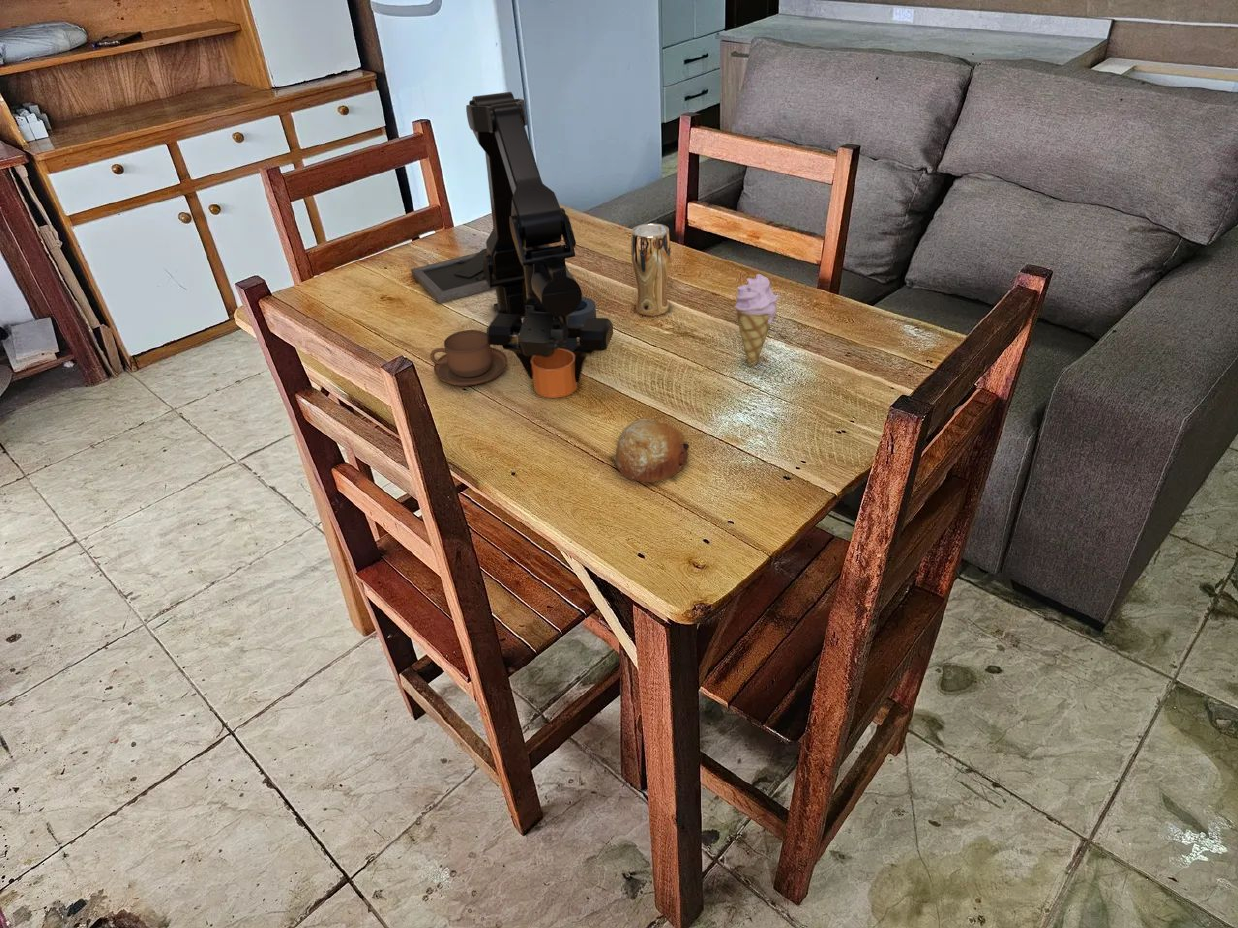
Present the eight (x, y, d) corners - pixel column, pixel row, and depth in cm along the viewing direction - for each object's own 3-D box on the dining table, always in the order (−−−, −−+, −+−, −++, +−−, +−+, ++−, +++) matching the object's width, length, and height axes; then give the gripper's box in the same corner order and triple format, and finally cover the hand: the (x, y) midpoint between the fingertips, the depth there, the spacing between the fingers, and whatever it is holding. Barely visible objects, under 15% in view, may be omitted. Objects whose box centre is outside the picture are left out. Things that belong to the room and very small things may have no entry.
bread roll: (625, 463, 121) (599, 424, 116) (689, 433, 119) (664, 391, 114) (632, 506, 113) (604, 465, 108) (700, 474, 111) (674, 431, 106)
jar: (550, 340, 145) (546, 300, 141) (590, 332, 147) (588, 293, 143) (561, 359, 140) (557, 318, 135) (603, 350, 141) (601, 310, 137)
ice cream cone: (777, 357, 137) (784, 271, 128) (770, 375, 132) (777, 288, 123) (738, 352, 139) (741, 267, 130) (729, 370, 134) (733, 284, 125)
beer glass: (668, 318, 150) (666, 238, 141) (630, 316, 152) (626, 236, 143) (673, 301, 156) (673, 223, 147) (637, 299, 157) (634, 222, 148)
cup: (529, 380, 134) (526, 353, 131) (570, 371, 136) (568, 344, 133) (540, 401, 129) (536, 373, 126) (583, 392, 131) (580, 364, 128)
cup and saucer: (449, 400, 131) (442, 365, 127) (426, 368, 139) (419, 335, 136) (519, 379, 135) (514, 345, 131) (493, 349, 144) (488, 317, 140)
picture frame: (505, 252, 179) (412, 276, 171) (504, 243, 178) (410, 267, 170) (537, 277, 168) (439, 303, 160) (536, 267, 167) (437, 294, 159)
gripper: (467, 309, 118) (483, 402, 127) (595, 315, 115) (601, 410, 124) (491, 277, 127) (504, 366, 136) (611, 282, 123) (616, 373, 133)
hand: (555, 379), depth 132 cm, fingers closed on cup, 7 cm apart
